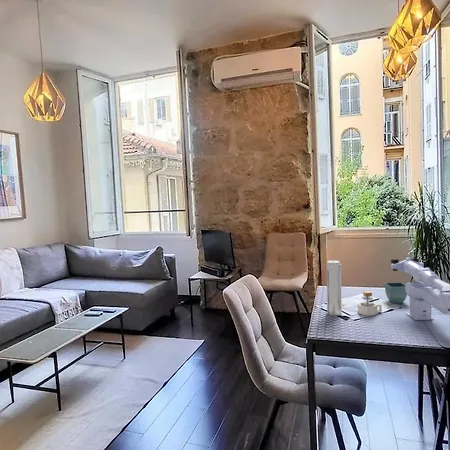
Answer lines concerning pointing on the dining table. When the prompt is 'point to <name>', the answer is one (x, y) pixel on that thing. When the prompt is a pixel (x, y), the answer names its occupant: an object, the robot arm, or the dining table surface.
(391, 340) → the dining table surface
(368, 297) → the plunger
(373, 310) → the press carafe
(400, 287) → the flower pot
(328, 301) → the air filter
